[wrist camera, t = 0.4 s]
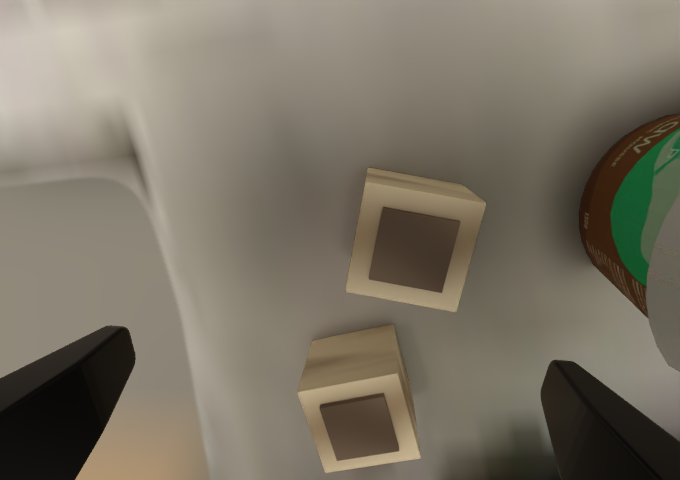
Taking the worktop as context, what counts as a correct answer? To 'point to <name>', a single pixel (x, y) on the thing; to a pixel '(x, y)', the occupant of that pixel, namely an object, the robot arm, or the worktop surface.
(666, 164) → the food container
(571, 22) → the worktop surface
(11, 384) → the robot arm
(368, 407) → the number block
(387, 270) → the number block
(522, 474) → the worktop surface
